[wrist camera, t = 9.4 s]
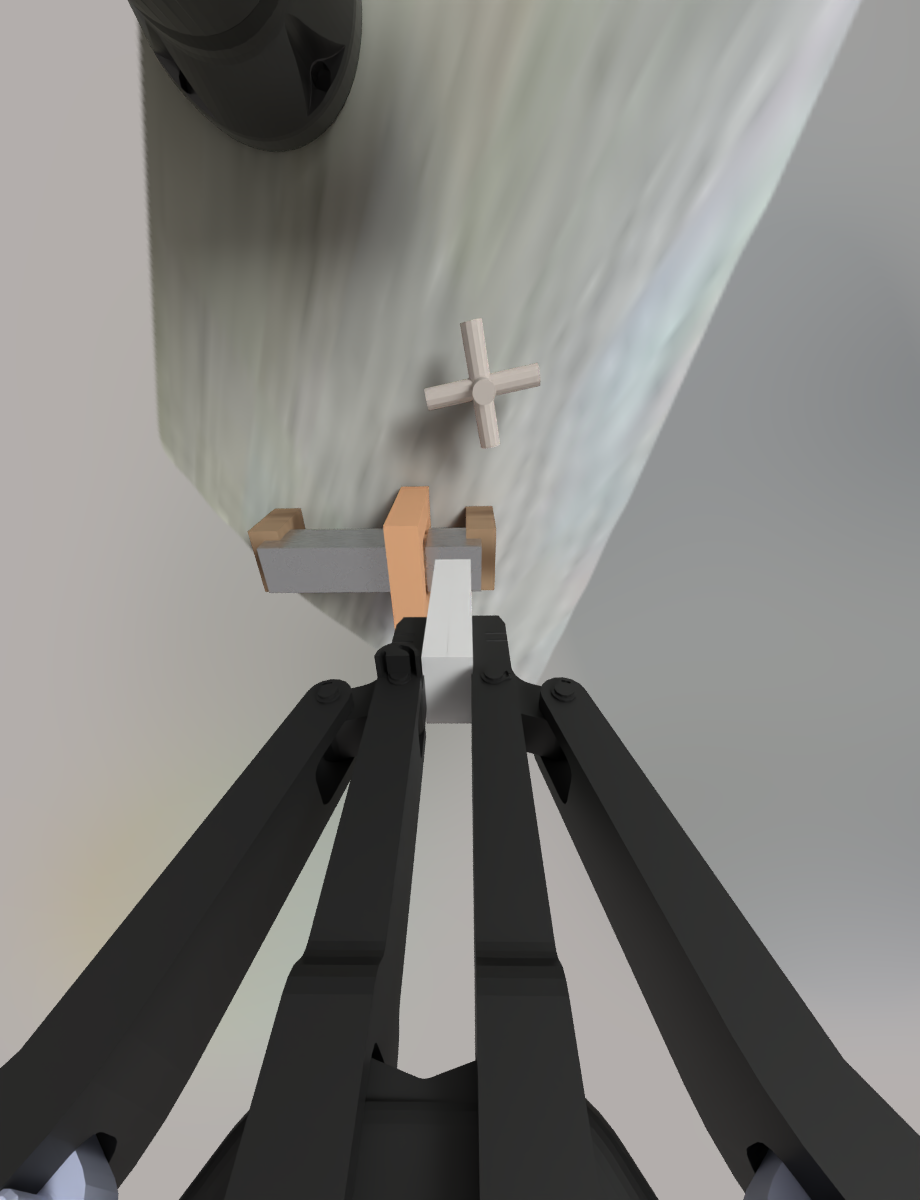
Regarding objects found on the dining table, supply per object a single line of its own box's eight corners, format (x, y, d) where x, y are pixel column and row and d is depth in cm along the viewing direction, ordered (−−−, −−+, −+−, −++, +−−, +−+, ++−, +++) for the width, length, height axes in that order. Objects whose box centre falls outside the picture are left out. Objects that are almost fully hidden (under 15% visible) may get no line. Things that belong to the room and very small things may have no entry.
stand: (274, 508, 48) (247, 531, 42) (492, 506, 48) (496, 528, 42) (288, 563, 52) (265, 591, 46) (490, 561, 51) (494, 589, 45)
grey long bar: (276, 529, 45) (256, 548, 41) (480, 527, 45) (481, 546, 40) (287, 570, 48) (269, 592, 43) (479, 569, 47) (481, 591, 43)
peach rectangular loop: (401, 486, 46) (383, 526, 36) (428, 486, 46) (417, 526, 36) (409, 582, 52) (396, 639, 42) (433, 582, 52) (425, 639, 42)
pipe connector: (442, 445, 44) (436, 468, 36) (418, 336, 39) (405, 333, 31) (536, 425, 43) (553, 444, 35) (524, 310, 38) (541, 299, 30)
